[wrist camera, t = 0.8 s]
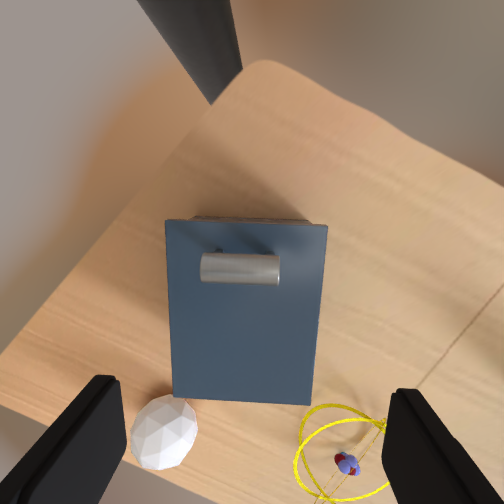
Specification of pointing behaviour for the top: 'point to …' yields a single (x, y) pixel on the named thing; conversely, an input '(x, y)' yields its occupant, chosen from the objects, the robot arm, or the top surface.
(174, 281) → the freezer lid
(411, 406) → the robot arm
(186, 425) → the geometric ball
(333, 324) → the top surface
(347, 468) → the atom model
